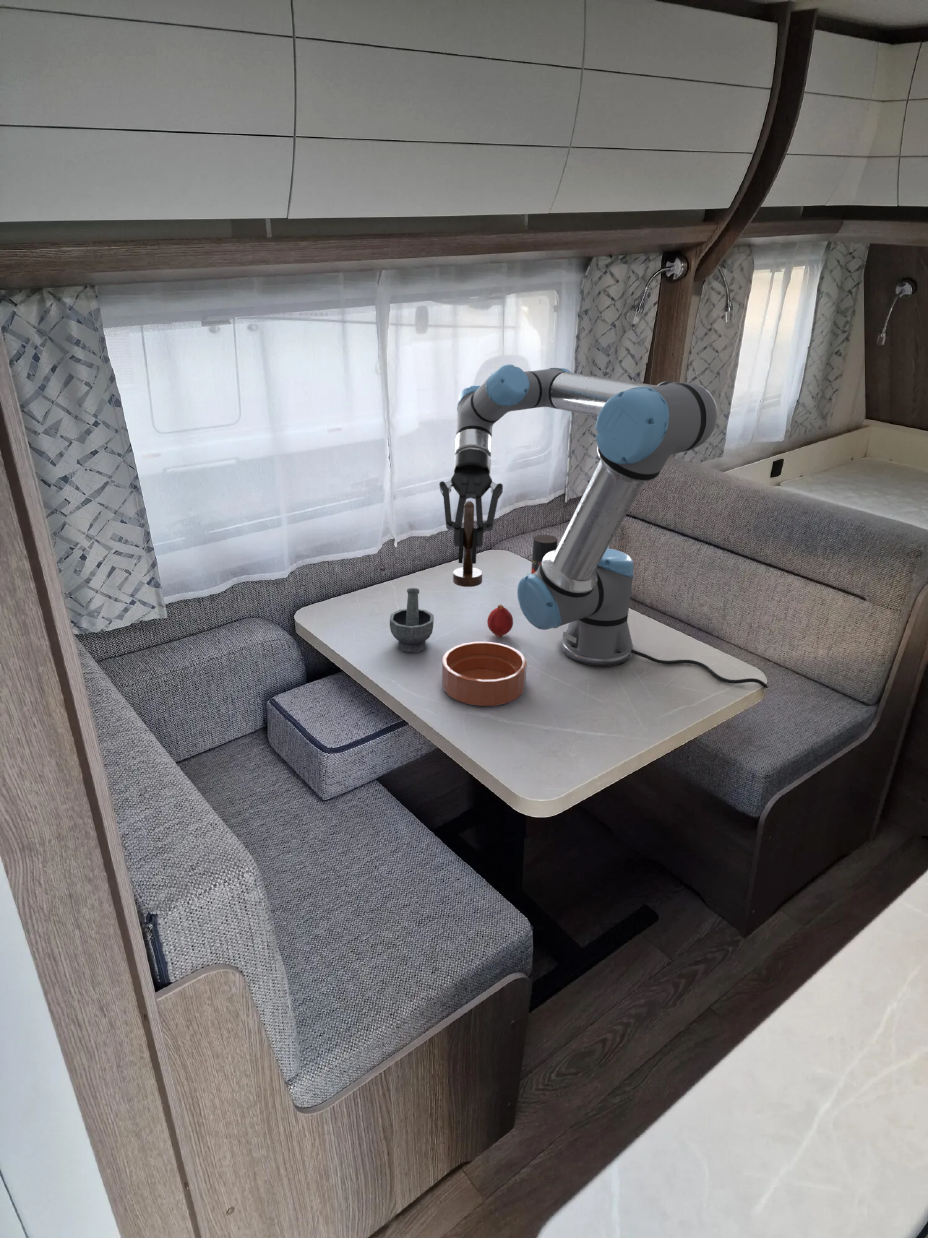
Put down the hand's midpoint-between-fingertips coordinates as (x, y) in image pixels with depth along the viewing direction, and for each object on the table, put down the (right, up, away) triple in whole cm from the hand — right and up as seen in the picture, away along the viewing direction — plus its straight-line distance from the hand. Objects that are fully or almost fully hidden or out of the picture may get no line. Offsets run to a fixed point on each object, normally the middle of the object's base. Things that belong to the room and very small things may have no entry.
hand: (467, 560), depth 162 cm
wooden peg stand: (0, -4, +6) cm, 7 cm away
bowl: (+3, -25, +3) cm, 26 cm away
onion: (+7, -16, +24) cm, 29 cm away
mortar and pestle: (-12, -17, +19) cm, 29 cm away
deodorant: (+19, -6, +45) cm, 50 cm away
